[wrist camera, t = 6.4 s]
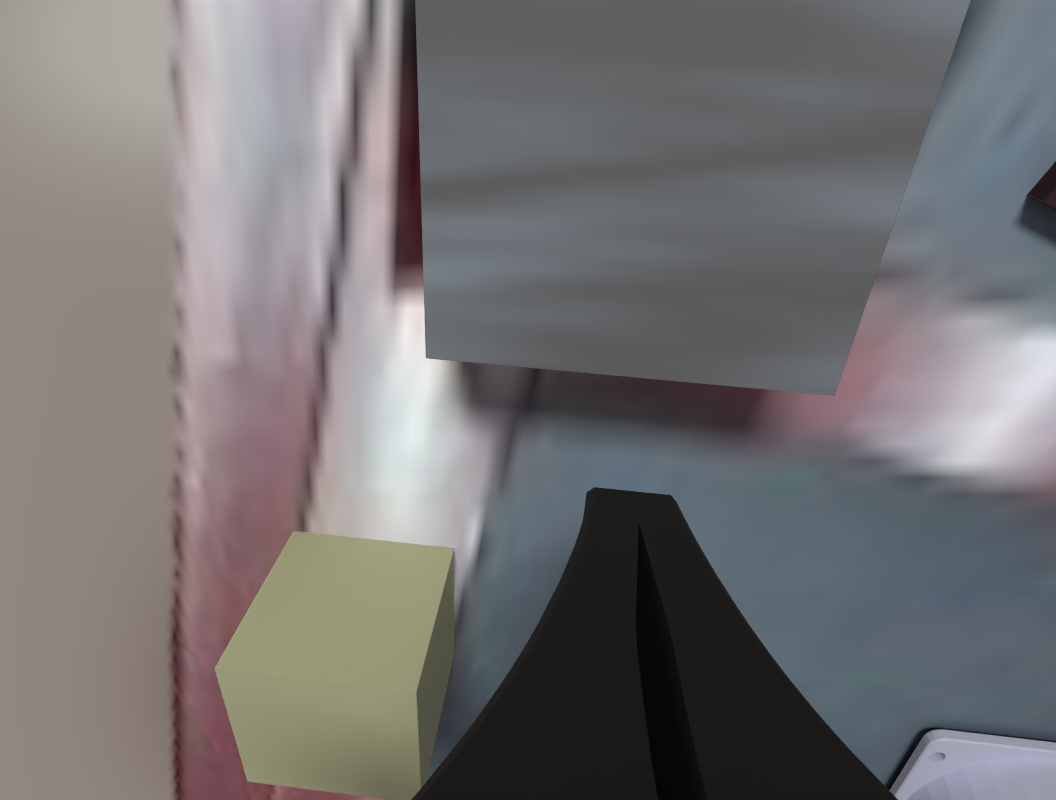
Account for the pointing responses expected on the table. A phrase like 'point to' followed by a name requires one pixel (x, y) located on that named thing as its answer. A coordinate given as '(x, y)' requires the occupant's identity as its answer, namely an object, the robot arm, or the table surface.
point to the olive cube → (343, 666)
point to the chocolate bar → (1046, 189)
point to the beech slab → (667, 179)
